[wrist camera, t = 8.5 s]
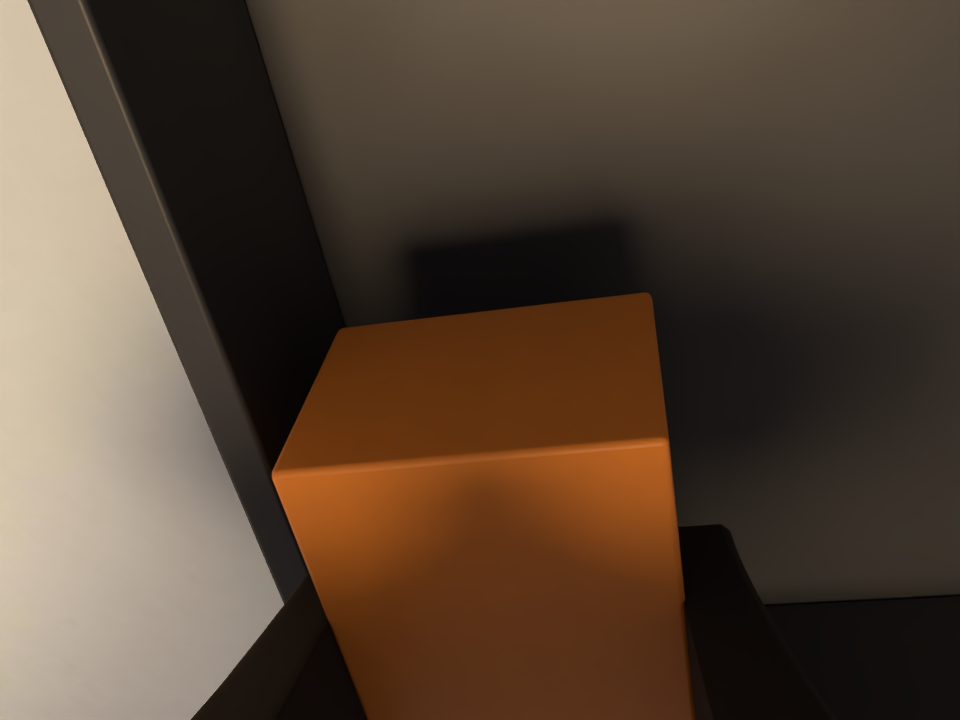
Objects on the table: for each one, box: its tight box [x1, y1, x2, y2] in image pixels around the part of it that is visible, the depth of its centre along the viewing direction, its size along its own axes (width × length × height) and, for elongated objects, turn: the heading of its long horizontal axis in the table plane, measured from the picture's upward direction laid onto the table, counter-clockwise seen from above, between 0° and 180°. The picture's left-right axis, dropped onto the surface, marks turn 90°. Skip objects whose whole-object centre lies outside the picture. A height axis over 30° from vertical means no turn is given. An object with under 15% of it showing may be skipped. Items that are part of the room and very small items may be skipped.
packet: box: [272, 292, 696, 720], centre depth 12 cm, size 4×7×3 cm, turn 11°
